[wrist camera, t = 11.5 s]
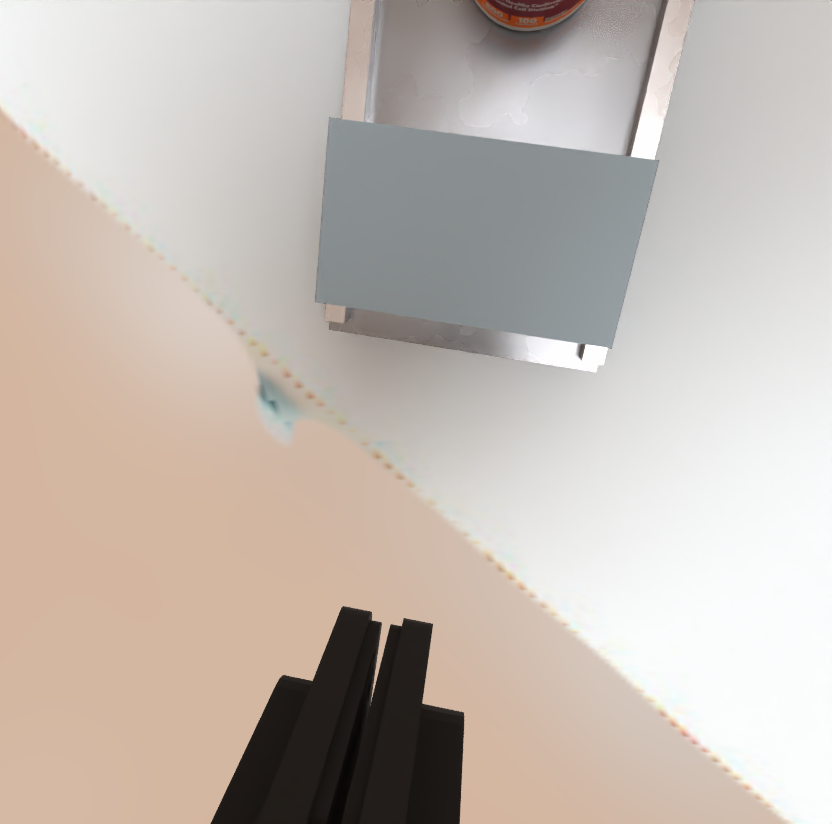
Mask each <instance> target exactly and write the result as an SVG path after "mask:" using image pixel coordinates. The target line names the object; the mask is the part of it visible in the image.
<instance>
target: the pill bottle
mask: <svg viewBox="0 0 832 824" xmlns="http://www.w3.org/2000/svg"><path fill="white" fill-rule="evenodd" d="M474 1H475V2H476V4H477V5H478V6H479V7H480V9H481V10H482V11H483V12H484V13H485V14H486V15H487V16H488V17H489V18H490V19H492V20H493V21H494V22H496V23H498V24H499V25H502V26H504V27H506V28H509V29H512V30H518V31H535V30H541V29H545V28H548V27H551V26H553V25H555V24H557V23H559V22H561V21H563V20H564V19H566V18H567V17H569V16H570V15H572V14H573V13H574V12H575V11H576V10H577V9H578V8H579V7H580V6H581V5H582V4H583V3H584V2H585V0H474Z"/></svg>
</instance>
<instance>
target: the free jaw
mask: <svg viewBox="0 0 832 824" xmlns="http://www.w3.org/2000/svg"><path fill="white" fill-rule="evenodd" d="M658 163H659V160H654V159H646V158H639V157H631V156H623V155H615V154H608V153H600V152H592V151H585V150H577V149H569V148H561V147H554V146H546V145H538V144H531V143H523V142H515V141H507V140H500V139H492V138H484V137H477V136H469V135H461V134H453V133H446V132H438V131H430V130H423V129H415V128H407V127H399V126H392V125H384V124H376V123H369V122H361V121H353V120H345V119H338V118H330V117H329V126H328V139H327V153H326V166H325V179H324V192H323V205H322V218H321V231H320V244H319V257H318V270H317V283H316V296H315V302H319V303H325V304H331V305H338V306H344V307H350V308H357V309H363V310H369V311H376V312H382V313H388V314H395V315H401V316H407V317H414V318H420V319H427V320H433V321H439V322H446V323H452V324H458V325H465V326H471V327H477V328H484V329H490V330H496V331H503V332H509V333H516V334H522V335H528V336H535V337H541V338H547V339H554V340H560V341H566V342H573V343H579V344H585V345H592V346H598V347H605V348H611V349H612V345H613V341H614V337H615V333H616V329H617V325H618V321H619V317H620V313H621V309H622V305H623V301H624V297H625V293H626V289H627V286H628V282H629V278H630V274H631V270H632V266H633V262H634V258H635V254H636V250H637V246H638V242H639V238H640V234H641V230H642V226H643V222H644V218H645V214H646V211H647V207H648V203H649V199H650V195H651V191H652V187H653V183H654V179H655V175H656V171H657V167H658Z"/></svg>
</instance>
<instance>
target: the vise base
mask: <svg viewBox="0 0 832 824" xmlns="http://www.w3.org/2000/svg"><path fill="white" fill-rule="evenodd" d="M694 1H695V0H585V2H584V3H583V4H582V5H581V6H580V7H579V8H578V9H577V10H576V11H575V12H574V13H573V14H572V15H570V16H569V17H567V18H566V19H564V20H563V21H561V22H559V23H557V24H555V25H553V26H551V27H548V28H545V29H541V30H535V31H518V30H512V29H509V28H506V27H504V26H502V25H499V24H498V23H496V22H494V21H493V20H492V19H490V18H489V17H488V16H487V15H486V14H485V13H484V12H483V11H482V10H481V9H480V7H479V6H478V5H477V4H476V2H475V1H474V0H351V8H350V21H349V33H348V45H347V57H346V69H345V81H344V93H343V105H342V117H341V119H345V120H353V121H361V122H369V123H376V124H384V125H392V126H399V127H407V128H415V129H423V130H430V131H438V132H446V133H453V134H461V135H469V136H477V137H484V138H492V139H500V140H507V141H515V142H523V143H531V144H538V145H546V146H554V147H561V148H569V149H577V150H585V151H592V152H600V153H608V154H615V155H623V156H631V157H639V158H646V159H654V160H655V156H656V152H657V148H658V144H659V140H660V136H661V132H662V129H663V125H664V121H665V117H666V113H667V109H668V105H669V101H670V97H671V93H672V89H673V85H674V81H675V77H676V73H677V69H678V65H679V61H680V57H681V53H682V49H683V45H684V41H685V37H686V33H687V29H688V25H689V21H690V17H691V13H692V9H693V5H694ZM325 320H326V321H330V325H329V329H330V330H336V331H342V332H348V333H354V334H361V335H367V336H373V337H379V338H385V339H392V340H398V341H404V342H410V343H416V344H423V345H429V346H435V347H441V348H447V349H454V350H460V351H466V352H472V353H478V354H485V355H491V356H497V357H503V358H510V359H516V360H522V361H528V362H534V363H541V364H547V365H553V366H559V367H565V368H572V369H578V370H584V371H590V372H597V368H598V364H601V365H603V364H604V360H605V356H606V352H607V348H605V347H598V346H592V345H585V344H579V343H573V342H566V341H560V340H554V339H547V338H541V337H535V336H528V335H522V334H516V333H509V332H503V331H496V330H490V329H484V328H477V327H471V326H465V325H458V324H452V323H446V322H439V321H433V320H427V319H420V318H414V317H407V316H401V315H395V314H388V313H382V312H376V311H369V310H363V309H357V308H350V307H344V306H338V305H331V304H326V310H325Z"/></svg>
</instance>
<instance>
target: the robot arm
mask: <svg viewBox="0 0 832 824" xmlns="http://www.w3.org/2000/svg"><path fill="white" fill-rule="evenodd" d="M381 626H382V623H381V622H377V621H372V612H370V611H364V610H359V609H355V608H350V607H344V606H343V607H342V608H341V610H340V613H339V616H338V618H337V621H336V623H335V626H334V628H333V631H332V633H331V636H330V638H329V641H328V644H327V646H326V649H325V651H324V654H323V656H322V659H321V661H320V664H319V666H318V669H317V671H316V674H315V677H314V679H313V681H309V680H305V679H300V678H295V677H290V676H285V675H283V676H282V677H281V678H280V679H279V681H278V682H277V684H276V686H275V688H274V690H273V692H272V695H271V697H270V699H269V701H268V703H267V705H266V707H265V709H264V712H263V714H262V716H261V718H260V720H259V722H258V724H257V726H256V729H255V731H254V733H253V735H252V737H251V739H250V741H249V743H248V745H247V748H246V750H245V752H244V754H243V756H242V758H241V760H240V762H239V765H238V767H237V769H236V771H235V773H234V775H233V777H232V780H231V782H230V784H229V786H228V788H227V790H226V792H225V794H224V796H223V799H222V801H221V803H220V805H219V807H218V809H217V811H216V813H215V816H214V818H213V820H212V822H211V824H460V802H461V780H462V759H463V737H464V736H463V735H464V713H463V712H459V711H454V710H449V709H445V708H439V707H435V706H430V705H425V704H422V700H423V693H424V684H425V678H426V670H427V664H428V657H429V649H430V642H431V634H432V627H433V624H431V623H426V622H421V621H416V620H410V619H406V618H404V620H403V624H402V626H397V625H392V624H391V625H390V629H389V633H388V637H387V641H386V645H385V649H384V653H383V657H382V661H381V665H380V669H379V673H378V677H377V681H376V685H375V689H374V693H373V697H372V689H373V683H374V676H375V669H376V662H377V655H378V647H379V640H380V633H381ZM371 697H372V701H371ZM370 704H371V705H370Z"/></svg>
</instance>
